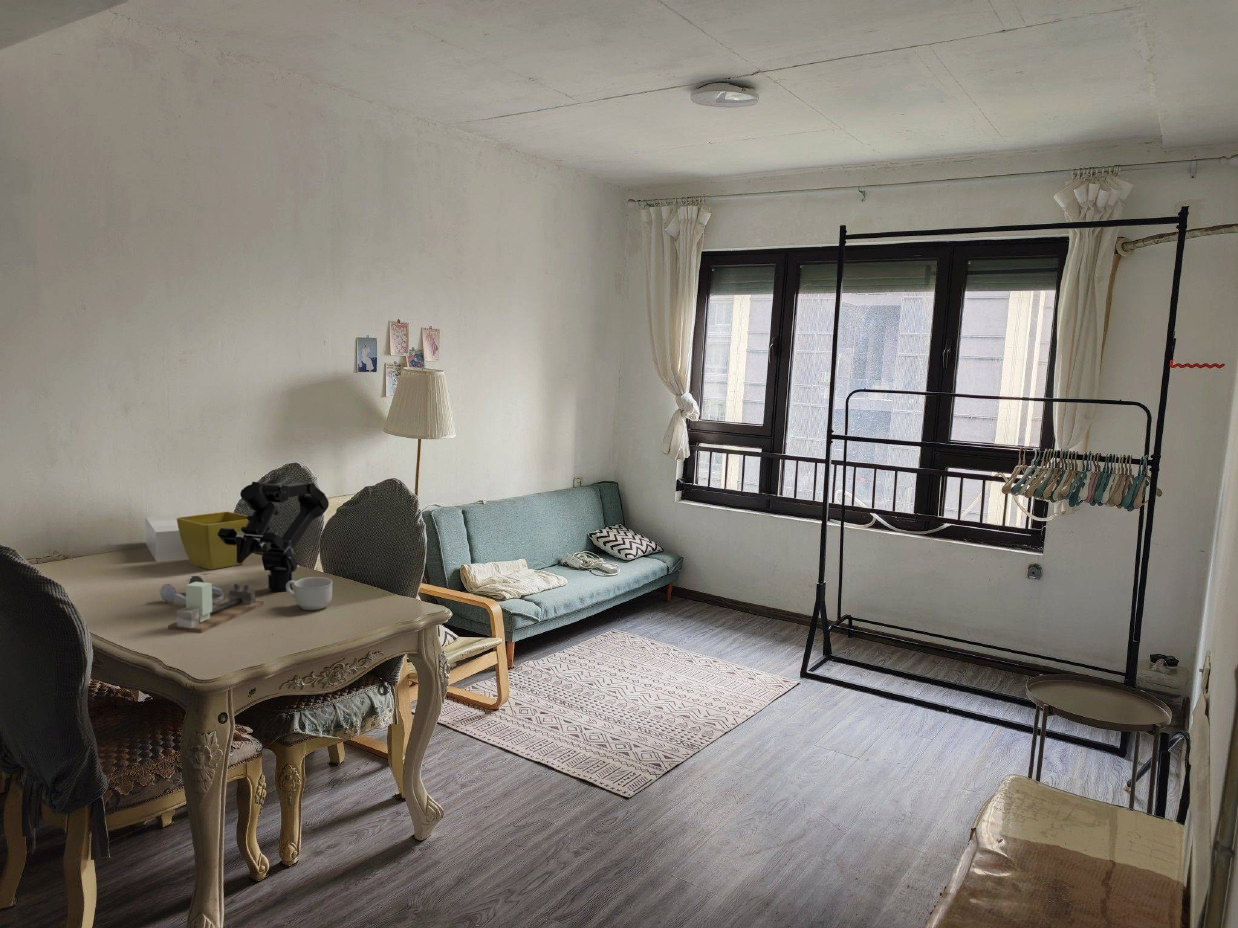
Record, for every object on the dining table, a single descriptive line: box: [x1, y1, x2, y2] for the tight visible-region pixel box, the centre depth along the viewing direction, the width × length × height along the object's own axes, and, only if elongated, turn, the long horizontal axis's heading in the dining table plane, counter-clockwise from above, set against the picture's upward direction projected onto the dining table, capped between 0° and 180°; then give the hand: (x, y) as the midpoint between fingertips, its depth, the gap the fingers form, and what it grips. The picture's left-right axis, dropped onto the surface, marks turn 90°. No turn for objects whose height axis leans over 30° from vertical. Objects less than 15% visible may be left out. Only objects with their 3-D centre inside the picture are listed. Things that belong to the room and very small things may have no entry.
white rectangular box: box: [144, 514, 189, 562], centre depth 315 cm, size 32×11×11 cm, turn 35°
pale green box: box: [185, 581, 213, 622], centre depth 233 cm, size 4×5×10 cm
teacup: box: [286, 576, 333, 611], centre depth 254 cm, size 14×11×8 cm
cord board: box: [167, 582, 264, 634], centre depth 241 cm, size 28×10×6 cm, turn 170°
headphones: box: [159, 575, 225, 605], centre depth 258 cm, size 17×6×20 cm
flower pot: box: [177, 511, 249, 570], centre depth 298 cm, size 19×19×17 cm
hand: (238, 562), depth 249 cm, fingers closed
